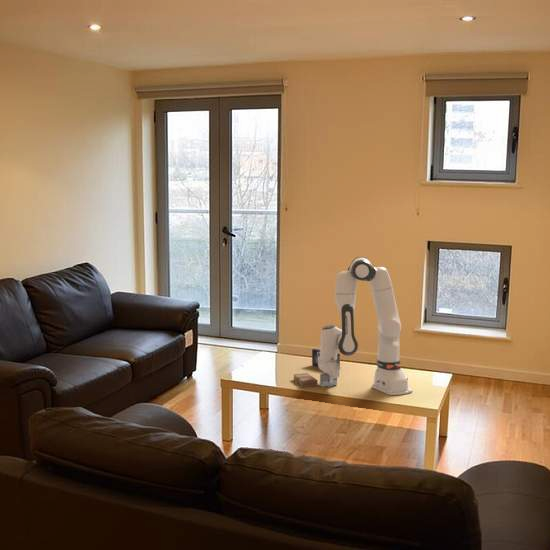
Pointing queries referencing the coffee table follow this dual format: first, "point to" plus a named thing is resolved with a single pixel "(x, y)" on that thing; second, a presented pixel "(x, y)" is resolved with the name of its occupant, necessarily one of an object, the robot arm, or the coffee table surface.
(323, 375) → the housing
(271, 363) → the coffee table surface
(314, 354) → the vhs cassette tape
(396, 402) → the coffee table surface
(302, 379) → the walnut stand
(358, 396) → the coffee table surface
